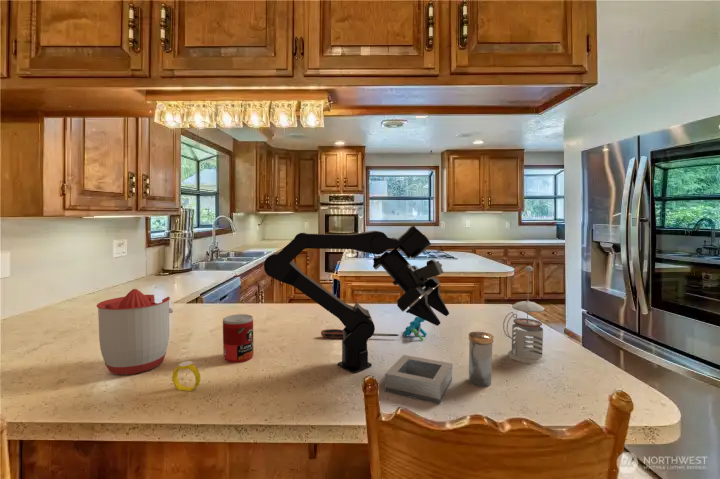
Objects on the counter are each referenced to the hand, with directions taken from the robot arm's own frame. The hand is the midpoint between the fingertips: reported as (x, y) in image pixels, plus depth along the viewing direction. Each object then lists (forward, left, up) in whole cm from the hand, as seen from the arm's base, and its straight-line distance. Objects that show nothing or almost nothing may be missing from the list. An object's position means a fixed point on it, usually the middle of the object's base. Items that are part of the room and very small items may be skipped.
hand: (443, 319), depth 85 cm
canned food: (-43, -33, -14) cm, 56 cm away
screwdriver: (-33, +2, -14) cm, 36 cm away
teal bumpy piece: (-23, +17, -14) cm, 32 cm away
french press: (+8, +26, -14) cm, 31 cm away
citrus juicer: (-55, -54, -14) cm, 78 cm away
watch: (-33, -49, -14) cm, 60 cm away
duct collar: (0, -9, -14) cm, 16 cm away
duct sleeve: (+8, +3, -14) cm, 16 cm away
